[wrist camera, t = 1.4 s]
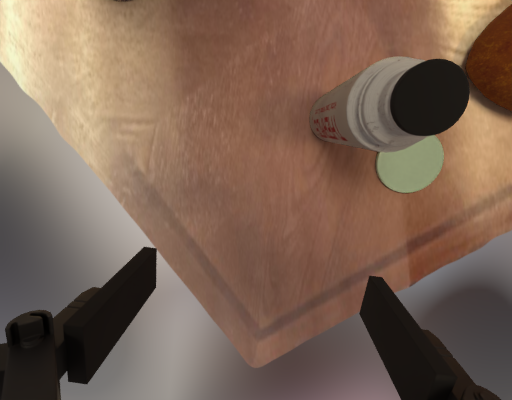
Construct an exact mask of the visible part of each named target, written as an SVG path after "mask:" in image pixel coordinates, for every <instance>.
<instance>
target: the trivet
mask: <svg viewBox="0 0 512 400" xmlns="http://www.w3.org/2000/svg"><path fill="white" fill-rule="evenodd" d="M443 161H444V152H443V147H442V145H441V143H440V141H439V140H438V138H437V137H436V136H435V135H432V136H428V137H426V138H425V139H423V140H421V141H419V142H417V143H415V144H414V145H412V146H410V147H408V148H406V149H403V150H400V151H396V152H387V153H386V152H378V154H377V157H376V172H377V175H378V177H379V179H380V180H381V182H382V183H383V184H384V185H385V186H386V187H388V188H390V189H392V190H394V191H397V192H401V193H410V192H415V191H418V190H421V189H423V188H425V187H426V186H428V185H429V184H430V183H431V182H432V181H434V179H435V178H436V177H437V176H438V174H439V172H440V170H441V168H442V165H443Z"/></svg>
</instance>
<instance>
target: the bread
mask: <svg viewBox="0 0 512 400" xmlns="http://www.w3.org/2000/svg"><path fill="white" fill-rule="evenodd" d="M465 69H466V71H467V73H468V75H469V78H470V80H471V81H472V82H473V83H474V85H475V86H476V87H477V88H478V89H479V90H480V91H481V93H482V94H483V95H484V96H485V97H487V98H488V99H490V100H491V101H493V102H494V103H496V104H497V105H500V106H502V107H504V108H506V109H508V110H510V111H512V4H511V5H510V6H509V7H508V8H506V9H505V10H504V11H503V12H502V13H501V14H500V15H499V16H497V17H496V18H495V19H494V20H493V21H492V22H491V23H490V24H489V25H488V26H487V27H486V29H485V30H484V31H483V32H482V33H481V35H480V36H479V37H478V38H477V39H476V41H475V42H474V45H473V47H472V49H471V52H470V54H469V56H468V58H467V63H466V68H465Z"/></svg>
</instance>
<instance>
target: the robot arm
mask: <svg viewBox="0 0 512 400" xmlns="http://www.w3.org/2000/svg"><path fill="white" fill-rule="evenodd" d="M116 1H130V0H116ZM156 252H157V248H149V247H144V248H143V249H142V250H141V251H140V252H138V253H137V254H136V255H135V256H134V257H133V258H132V259H131V260H130V261H129V262H128V263H127V264H126V265H125V266H124V267H123V268H122V269H121V270H120V271H118V273H116V274H115V275H114V276H113V277H112V278H111V279H110V280H109V281H108V282H107V283H106V284H105V285H104V286H103V287H102V288H96V287H92V288H90V289H89V290H87V291H85V292H83V293H81V294H80V295H79V296H78V297H77V298H76V299H75V300H74V301H72V302H71V303H70V304H69V305H68V306H67V307H65V309H63V310H62V311H61V312H60V313H59V314H57V315H56V316H55V317H54V318H52V314H51V313H50V312H48V311H46V310H36V311H30V312H27V313H24V314H21V315H20V316H18V317H16V318H14V319H13V320H12V321H10V322H9V323H8V324H7V326H6V328H5V332H6V337H7V343H4V344H0V400H61V395H60V381H59V380H60V379H61V377H62V376H63V375H64V374H65V373H66V371H67V372H68V382H75V383H82V384H88V382H89V381H90V379H91V378H92V377H93V375H94V374H95V372H96V371H97V370H98V368H99V367H100V365H101V364H102V363H103V361H104V360H105V358H106V357H107V356H108V354H109V353H110V351H111V350H112V349H113V347H114V346H115V344H116V343H117V341H118V340H119V339H120V337H121V336H122V334H123V333H124V332H125V330H126V329H127V327H128V326H129V325H130V323H131V322H132V320H133V319H134V318H135V316H136V315H137V313H138V312H139V310H140V309H141V308H142V306H143V305H144V303H145V302H146V301H147V299H148V298H149V296H150V295H151V294H152V292H153V291H154V289H155V288H156ZM360 316H361V318H362V320H363V322H364V324H365V326H366V328H367V330H368V332H369V334H370V336H371V339H372V340H373V343H374V345H375V347H376V349H377V351H378V353H379V355H380V357H381V359H382V361H383V363H384V365H385V367H386V369H387V371H388V373H389V375H390V378H391V380H392V381H393V384H394V386H395V388H396V390H397V392H398V394H399V396H400V398H401V400H501V399H500V398H499V397H497V395H495V394H494V393H492V392H490V391H489V390H487V389H485V388H483V387H481V386H477V385H476V384H475V383H474V382H473V380H472V379H471V378H470V377H469V375H468V374H467V373H466V372H465V371H464V369H463V368H462V367H461V366H460V364H459V363H458V362H457V361H456V359H455V358H453V356H452V354H451V353H450V352H449V351H448V350H447V349H446V347H445V346H444V345H443V344H442V342H441V341H440V340H439V339H438V338H437V337H436V336H435V335H434V334H432V333H431V332H430V331H429V330H423V329H421V328H420V327H419V325H418V324H417V323H416V321H415V320H414V319H413V318H412V316H411V315H410V314H409V312H408V311H407V310H406V308H405V307H404V306H403V304H402V303H401V302H400V300H399V299H398V298H397V296H396V295H395V294H394V292H393V291H392V290H391V288H390V287H389V286H388V285H387V283H386V282H385V281H384V279H383V278H382V277H376V276H369V279H368V283H367V287H366V291H365V295H364V298H363V302H362V306H361V310H360Z"/></svg>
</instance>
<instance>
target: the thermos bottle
mask: <svg viewBox="0 0 512 400" xmlns="http://www.w3.org/2000/svg"><path fill="white" fill-rule="evenodd" d="M469 93H470V89H469V82H468V79H467V76H466V75H465V73H464V71H463V70H462V69H461V68H460V67H459V66H458V65H457V64H455V63H453V62H451V61H448V60H445V59H432V60H427V61H424V60H421V59H412V58H409V57H401V56H398V57H389V58H386V59H383V60H380V61H378V62H376V63H375V64H373V65H371V66H369V67H368V68H366V69H365V70H363V71H361V72H360V73H358V74H357V75H355V76H353V77H352V78H350V79H349V80H347V81H345V82H344V83H342V84H341V85H339V86H337V87H336V88H334V89H333V90H331V91H330V92H328V93H327V94H325V95H323V96H322V97H320V98H319V99H318V100H317V101H316V102H315V103H314V105H313V107H312V109H311V112H310V126H311V128H312V131H313V132H314V134H315V135H316V136H317V137H319V138H320V139H322V140H324V141H328V142H333V143H338V144H343V145H347V146H352V147H357V148H364V149H368V150H372V151H377V152H386V153H387V152H396V151H400V150H403V149H406V148H408V147H410V146H412V145H414V144H415V143H417V142H419V141H421V140H423V139H425V138H426V137H428V136H432V135H436V134H439V133H441V132H443V131H446V130H447V129H449V128H450V127H451V126H453V125H454V124H455V123H456V122H457V121H458V120H459V118H460V117H461V116H462V114H463V113H464V111H465V109H466V107H467V103H468V100H469Z"/></svg>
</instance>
